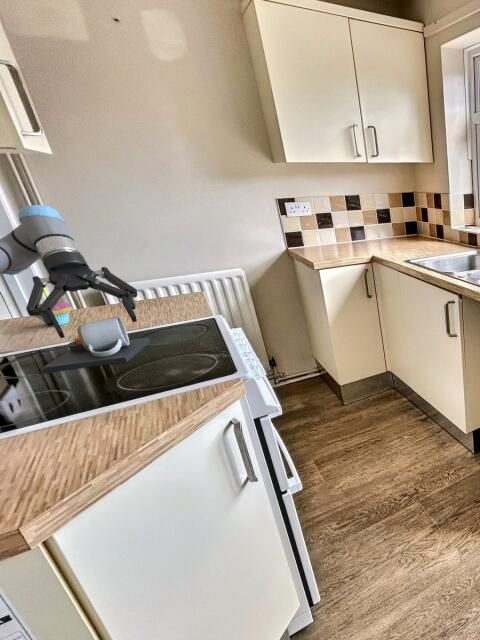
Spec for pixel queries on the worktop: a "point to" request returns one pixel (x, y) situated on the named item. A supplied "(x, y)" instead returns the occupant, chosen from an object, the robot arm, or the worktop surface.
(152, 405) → the worktop surface
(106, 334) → the ceramic mug
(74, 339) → the button
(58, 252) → the robot arm
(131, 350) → the scale
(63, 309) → the cupcake
